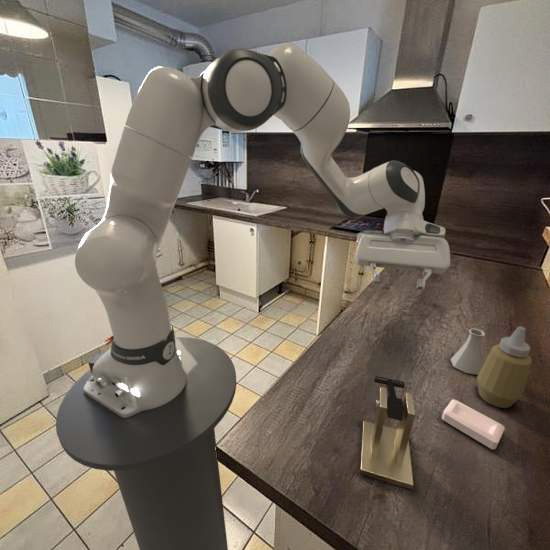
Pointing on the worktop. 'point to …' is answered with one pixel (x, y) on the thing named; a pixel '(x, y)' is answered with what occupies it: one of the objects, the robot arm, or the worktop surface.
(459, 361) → the flask
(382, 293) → the worktop surface
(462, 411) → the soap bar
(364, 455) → the cream lever mount
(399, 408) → the lever
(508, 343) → the squeeze bottle
